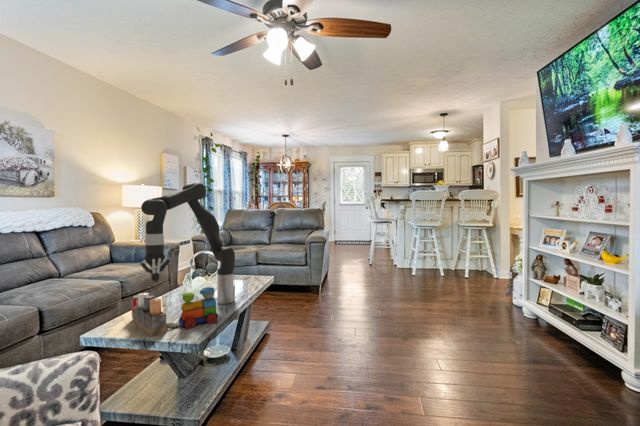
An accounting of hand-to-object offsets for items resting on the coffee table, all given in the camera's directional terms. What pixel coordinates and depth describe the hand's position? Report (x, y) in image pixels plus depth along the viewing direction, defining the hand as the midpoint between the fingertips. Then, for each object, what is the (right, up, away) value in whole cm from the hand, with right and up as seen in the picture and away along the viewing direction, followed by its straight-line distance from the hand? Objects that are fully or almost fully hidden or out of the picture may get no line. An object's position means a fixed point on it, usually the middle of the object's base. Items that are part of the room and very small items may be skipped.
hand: (155, 281), depth 145 cm
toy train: (+12, -24, +11) cm, 29 cm away
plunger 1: (-11, -15, +10) cm, 21 cm away
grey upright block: (-6, -15, +5) cm, 17 cm away
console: (-6, -23, +5) cm, 25 cm away
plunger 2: (0, -15, 0) cm, 15 cm away
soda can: (-17, -23, +17) cm, 34 cm away
